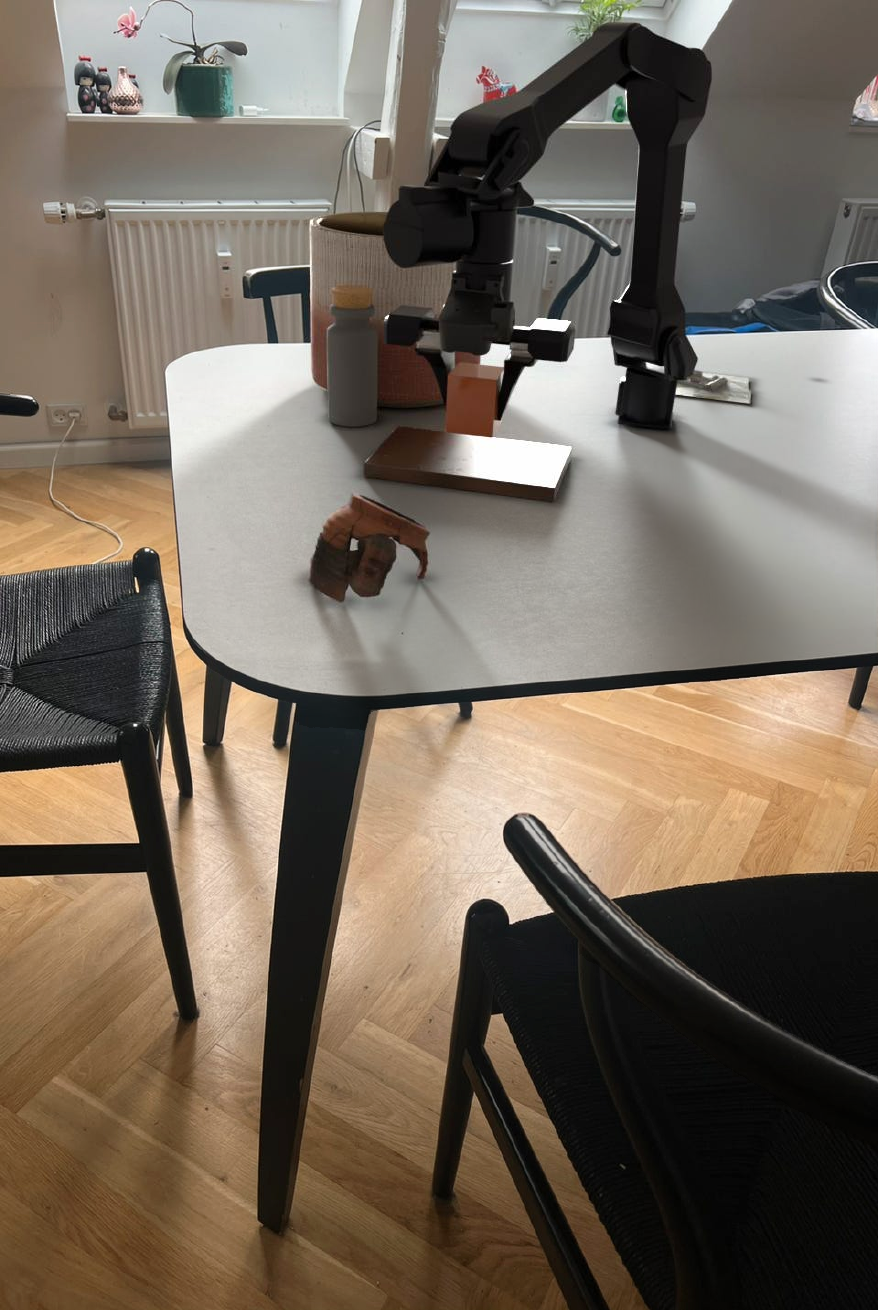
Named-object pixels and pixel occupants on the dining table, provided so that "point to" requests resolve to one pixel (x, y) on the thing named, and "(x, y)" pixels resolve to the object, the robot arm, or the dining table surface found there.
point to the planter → (375, 302)
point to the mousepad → (715, 387)
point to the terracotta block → (473, 399)
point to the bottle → (352, 358)
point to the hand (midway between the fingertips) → (474, 416)
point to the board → (470, 463)
